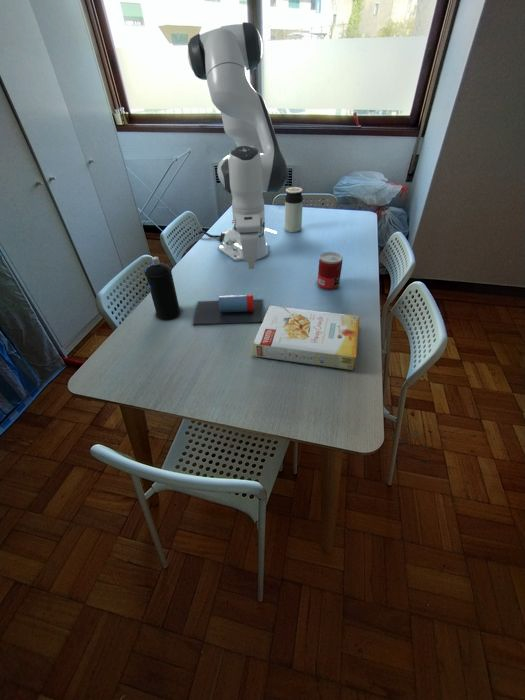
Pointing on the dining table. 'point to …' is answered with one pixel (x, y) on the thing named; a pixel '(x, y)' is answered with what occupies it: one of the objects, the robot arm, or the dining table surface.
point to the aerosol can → (162, 290)
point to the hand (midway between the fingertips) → (251, 261)
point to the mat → (225, 314)
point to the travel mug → (293, 209)
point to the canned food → (329, 270)
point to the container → (236, 303)
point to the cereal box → (308, 337)
